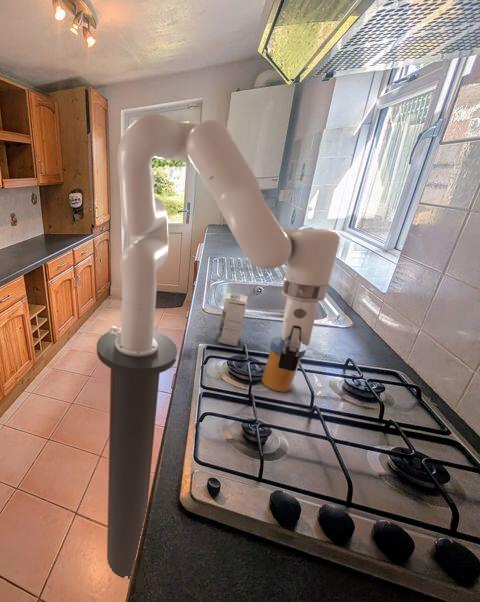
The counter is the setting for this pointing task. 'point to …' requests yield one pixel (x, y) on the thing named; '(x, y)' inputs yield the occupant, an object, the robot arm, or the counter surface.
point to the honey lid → (278, 346)
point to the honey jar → (277, 374)
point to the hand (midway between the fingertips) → (287, 360)
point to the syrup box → (232, 319)
